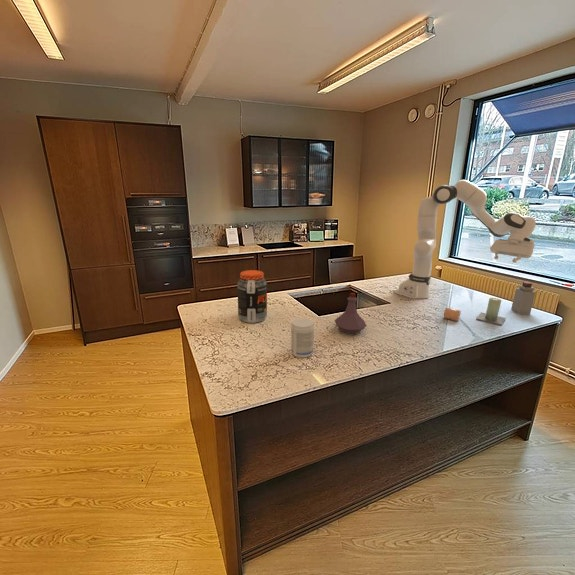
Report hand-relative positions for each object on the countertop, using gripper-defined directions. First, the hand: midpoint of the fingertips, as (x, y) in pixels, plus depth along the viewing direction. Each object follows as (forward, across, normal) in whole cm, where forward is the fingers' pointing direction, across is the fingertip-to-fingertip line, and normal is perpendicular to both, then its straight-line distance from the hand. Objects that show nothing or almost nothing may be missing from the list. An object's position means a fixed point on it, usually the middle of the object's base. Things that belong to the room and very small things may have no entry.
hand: (504, 260), depth 180 cm
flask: (+86, -28, -41) cm, 99 cm away
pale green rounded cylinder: (+30, +4, +13) cm, 33 cm away
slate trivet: (+31, +4, +13) cm, 34 cm away
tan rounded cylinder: (+41, -7, -5) cm, 42 cm away
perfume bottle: (+12, +8, +33) cm, 36 cm away
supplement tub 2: (+110, -23, -65) cm, 129 cm away
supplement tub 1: (+109, -68, -65) cm, 144 cm away
